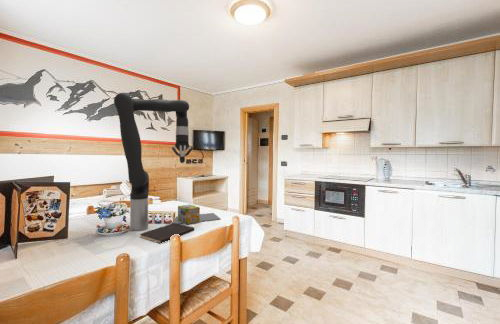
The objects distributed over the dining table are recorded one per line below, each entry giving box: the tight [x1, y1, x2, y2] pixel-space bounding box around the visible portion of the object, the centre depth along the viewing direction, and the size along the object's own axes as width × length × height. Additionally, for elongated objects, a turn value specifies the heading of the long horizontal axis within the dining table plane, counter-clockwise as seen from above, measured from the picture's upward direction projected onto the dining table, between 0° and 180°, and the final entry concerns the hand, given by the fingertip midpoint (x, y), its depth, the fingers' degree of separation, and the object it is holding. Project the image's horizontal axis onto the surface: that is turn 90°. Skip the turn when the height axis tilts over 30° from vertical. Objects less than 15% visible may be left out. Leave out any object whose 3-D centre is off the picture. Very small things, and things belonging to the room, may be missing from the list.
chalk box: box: [177, 204, 201, 225], centre depth 154 cm, size 9×9×15 cm
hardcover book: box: [139, 223, 195, 244], centre depth 131 cm, size 16×23×2 cm
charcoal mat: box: [171, 212, 222, 225], centre depth 159 cm, size 30×16×1 cm, turn 115°
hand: (182, 162), depth 149 cm, fingers closed
